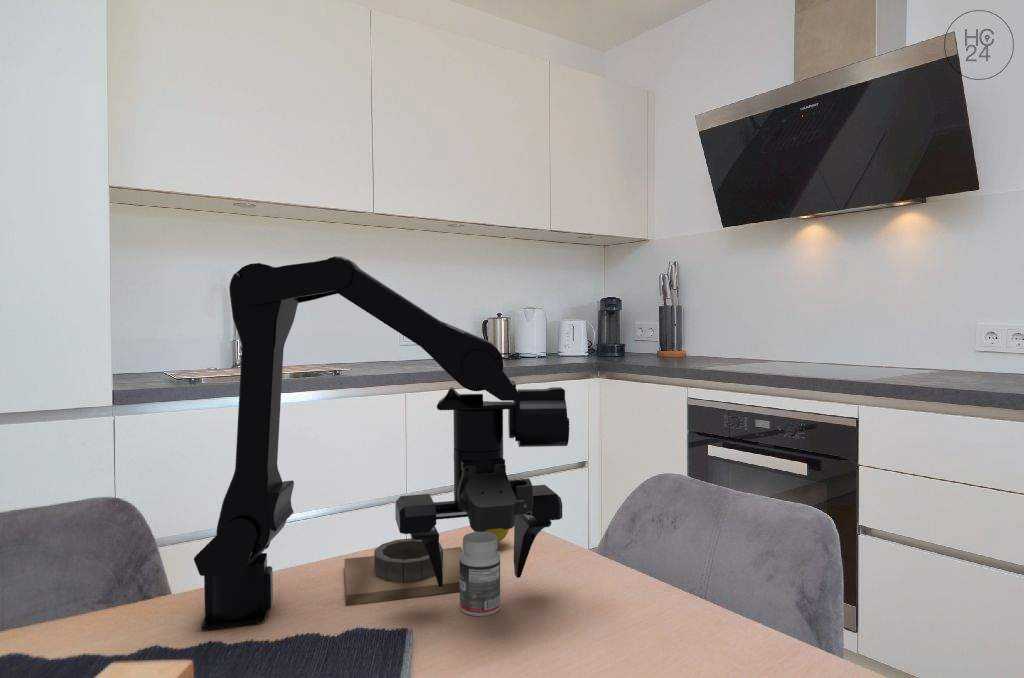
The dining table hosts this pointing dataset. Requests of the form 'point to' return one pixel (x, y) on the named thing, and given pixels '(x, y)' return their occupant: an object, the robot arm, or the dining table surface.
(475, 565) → the pill bottle
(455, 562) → the socket board
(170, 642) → the dining table surface
